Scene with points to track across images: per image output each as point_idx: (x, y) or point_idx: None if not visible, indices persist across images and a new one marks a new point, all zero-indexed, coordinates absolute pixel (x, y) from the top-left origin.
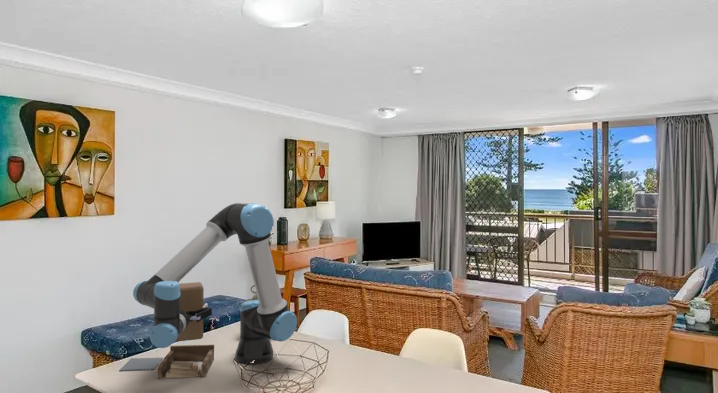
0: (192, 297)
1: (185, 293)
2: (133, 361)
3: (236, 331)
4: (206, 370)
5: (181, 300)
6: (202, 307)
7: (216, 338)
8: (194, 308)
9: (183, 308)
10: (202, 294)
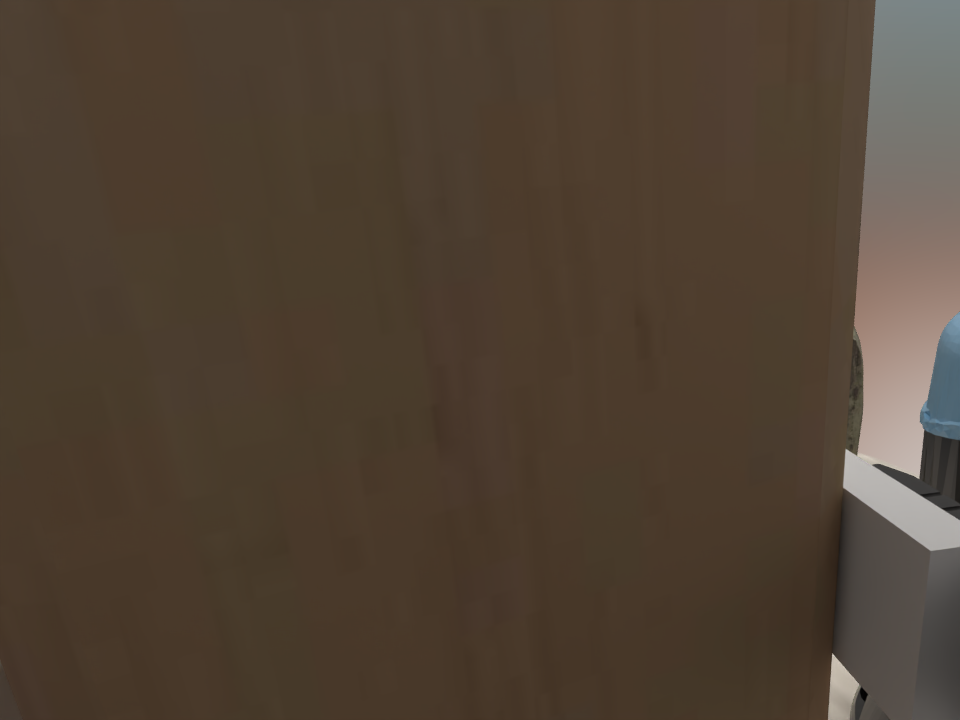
0: (602, 244)
1: (308, 65)
2: None
3: None
4: None
5: (191, 403)
6: (937, 550)
7: None
8: (673, 596)
9: (339, 681)
10: (866, 131)
